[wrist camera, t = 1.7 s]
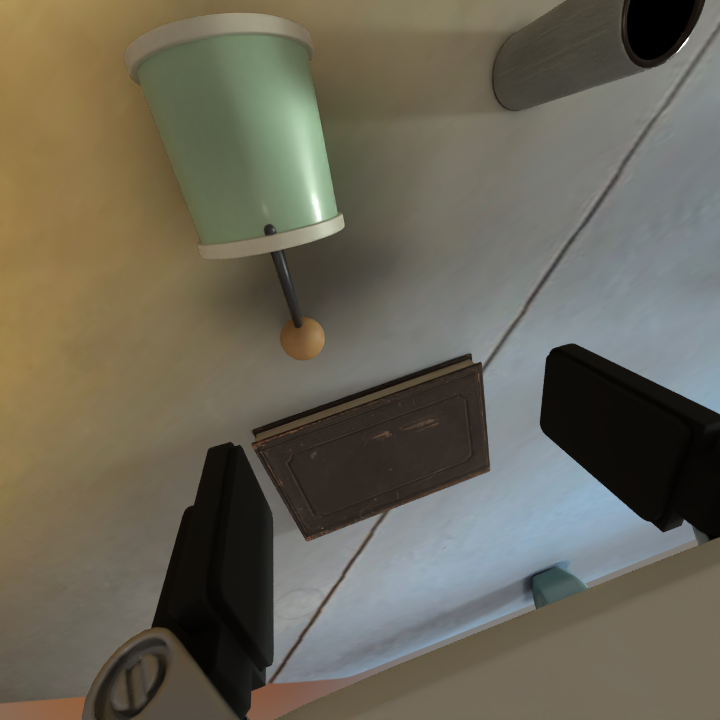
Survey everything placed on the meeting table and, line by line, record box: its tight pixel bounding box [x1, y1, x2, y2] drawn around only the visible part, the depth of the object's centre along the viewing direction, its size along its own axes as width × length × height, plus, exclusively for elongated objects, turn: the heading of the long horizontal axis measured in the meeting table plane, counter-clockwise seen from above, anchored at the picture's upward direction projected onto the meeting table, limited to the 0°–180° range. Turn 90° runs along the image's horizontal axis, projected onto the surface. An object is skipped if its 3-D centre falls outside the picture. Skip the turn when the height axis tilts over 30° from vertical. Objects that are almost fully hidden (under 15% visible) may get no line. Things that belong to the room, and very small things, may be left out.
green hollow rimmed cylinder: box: [124, 13, 345, 360], centre depth 21 cm, size 18×9×9 cm, turn 10°
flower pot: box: [532, 567, 589, 609], centre depth 57 cm, size 9×9×9 cm
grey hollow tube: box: [493, 0, 705, 111], centre depth 20 cm, size 4×4×10 cm
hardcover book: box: [252, 354, 490, 541], centre depth 36 cm, size 16×23×2 cm
